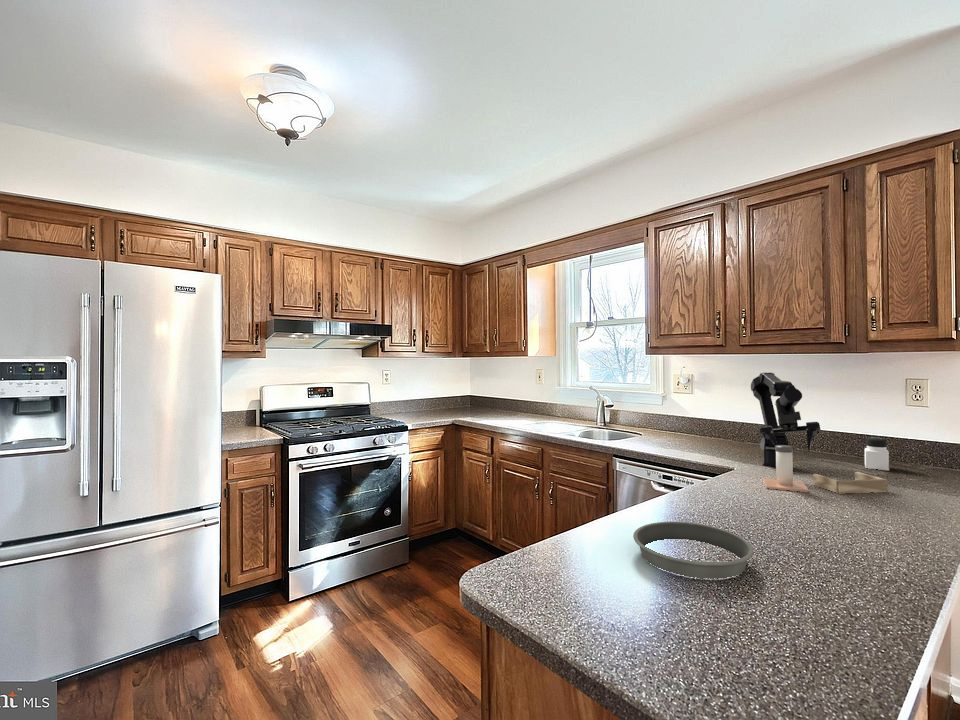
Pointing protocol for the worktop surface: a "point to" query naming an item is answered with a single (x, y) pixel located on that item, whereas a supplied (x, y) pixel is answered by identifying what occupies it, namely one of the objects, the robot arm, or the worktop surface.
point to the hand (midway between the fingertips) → (793, 452)
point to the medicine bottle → (877, 454)
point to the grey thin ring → (699, 534)
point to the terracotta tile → (795, 487)
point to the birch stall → (852, 484)
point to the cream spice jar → (784, 465)
